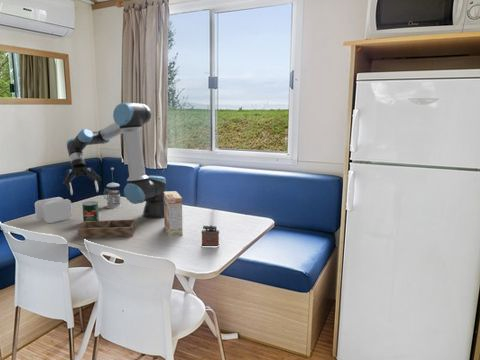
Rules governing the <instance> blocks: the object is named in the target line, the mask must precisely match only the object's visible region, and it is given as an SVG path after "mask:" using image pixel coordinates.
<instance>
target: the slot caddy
mask: <svg viewBox="0 0 480 360" xmlns="http://www.w3.org/2000/svg"><path fill="white" fill-rule="evenodd" d="M136 227H137V226H136V219H116V220H115V219H113V220H99V221H84V222H83V223H82V224H81V225H80V226H79V228H78V229H77V234H78V239H79V238H81V239H100V238H101V239H102V238H126V237H127V238H129V237H133V236H134V234H135V231H136Z"/></svg>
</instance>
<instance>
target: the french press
mask: <svg viewBox="0 0 480 360" xmlns="http://www.w3.org/2000/svg"><path fill="white" fill-rule="evenodd" d="M110 170H111V175H112V176H111V177H112V179H114V177H113V175H114V174H113V170H115V168H114V167H110ZM120 186H121V185H120V184H119V183H118V182H117V183H116V182H110V183H107V184H106V188H104V191H103V193H104V196H103V197H104V199H105V200H107V201H106V202H107V204H106V207H105V208H107V209H119V208H122V207H123V205H122V204H121V193H120V190H118V189H116V190H114V189H112V190H111V189H109V188H118V187H120Z"/></svg>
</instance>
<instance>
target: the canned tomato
mask: <svg viewBox="0 0 480 360" xmlns="http://www.w3.org/2000/svg"><path fill="white" fill-rule="evenodd" d="M81 204H82V217H83V218H82V219H83V220H82V222H83V223H84V221H100V215H99V202H98V201H96V200H95V201H94V200H93V201H91V200H90V201H84V202H82V203H81Z"/></svg>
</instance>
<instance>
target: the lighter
mask: <svg viewBox="0 0 480 360" xmlns="http://www.w3.org/2000/svg"><path fill="white" fill-rule="evenodd" d="M219 235H220V230H217V226H215V225H212V224H211V225H203V226H202V230H201V247H202V246H218V245H219V246H220V244H219V243H220V242H219V239H220V236H219Z"/></svg>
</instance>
